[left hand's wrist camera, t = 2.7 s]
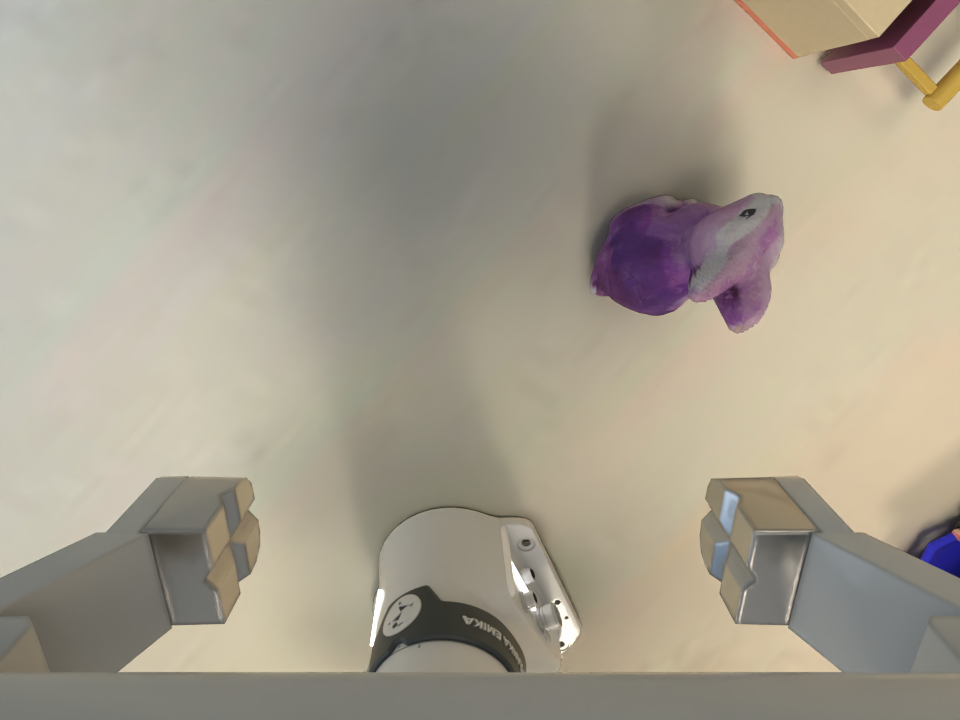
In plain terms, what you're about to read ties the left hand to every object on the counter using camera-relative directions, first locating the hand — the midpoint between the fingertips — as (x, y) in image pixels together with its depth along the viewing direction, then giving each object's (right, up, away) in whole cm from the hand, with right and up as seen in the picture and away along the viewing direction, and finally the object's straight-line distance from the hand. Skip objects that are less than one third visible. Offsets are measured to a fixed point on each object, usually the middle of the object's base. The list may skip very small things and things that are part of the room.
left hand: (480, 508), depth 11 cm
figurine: (+14, +12, +36) cm, 40 cm away
